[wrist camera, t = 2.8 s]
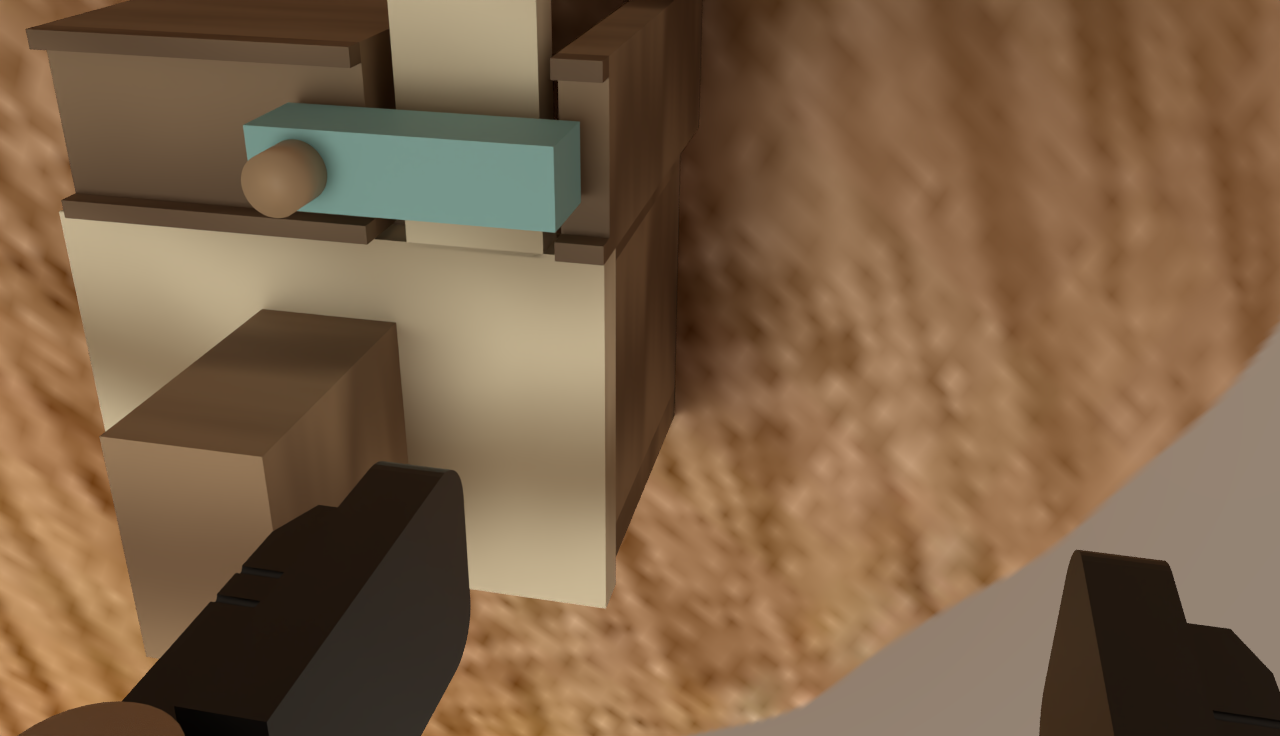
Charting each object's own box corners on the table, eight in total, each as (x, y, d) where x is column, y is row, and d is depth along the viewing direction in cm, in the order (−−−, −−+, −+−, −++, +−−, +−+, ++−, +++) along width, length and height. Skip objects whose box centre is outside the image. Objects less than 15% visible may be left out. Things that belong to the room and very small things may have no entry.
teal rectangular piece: (288, 102, 24) (214, 139, 22) (579, 121, 23) (536, 162, 21) (297, 180, 25) (227, 223, 22) (581, 202, 24) (539, 251, 21)
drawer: (69, -43, 27) (-240, 21, 20) (627, -19, 24) (500, 63, 17) (171, 498, 33) (-38, 695, 26) (625, 560, 30) (531, 795, 23)
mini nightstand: (264, -42, 34) (3, 28, 25) (703, -24, 32) (602, 61, 22) (315, 375, 40) (119, 563, 30) (689, 417, 38) (605, 635, 28)
